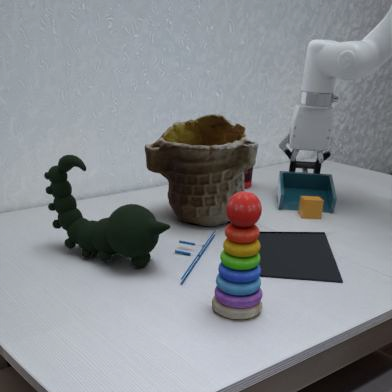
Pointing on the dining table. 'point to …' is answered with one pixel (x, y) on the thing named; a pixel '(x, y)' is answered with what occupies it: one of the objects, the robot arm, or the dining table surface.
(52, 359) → the dining table surface
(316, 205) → the block
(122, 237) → the toy figurine
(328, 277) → the mat
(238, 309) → the stacking toy
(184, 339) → the dining table surface
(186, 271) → the chopsticks
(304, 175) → the dish
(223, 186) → the ceramic vessel
